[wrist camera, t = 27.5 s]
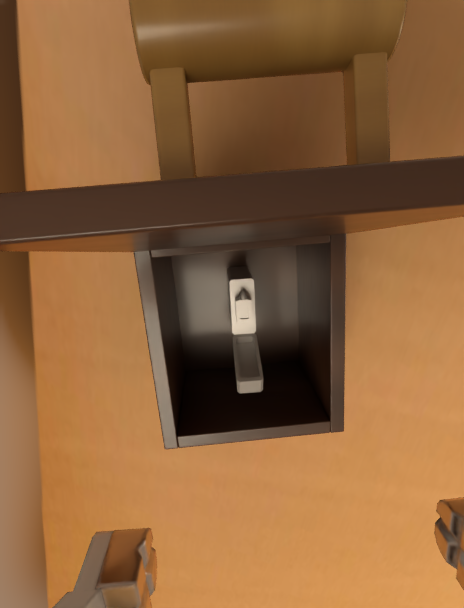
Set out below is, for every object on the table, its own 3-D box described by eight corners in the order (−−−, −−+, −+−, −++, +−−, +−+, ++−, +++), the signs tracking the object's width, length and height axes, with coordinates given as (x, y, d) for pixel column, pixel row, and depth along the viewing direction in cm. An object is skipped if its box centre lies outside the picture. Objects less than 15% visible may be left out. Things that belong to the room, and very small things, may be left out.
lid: (648, 190, 6) (670, -150, 6) (-73, 250, 6) (-141, -101, 5) (349, 233, 20) (345, 138, 20) (131, 252, 20) (119, 156, 19)
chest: (307, 364, 34) (344, 431, 25) (177, 376, 34) (164, 449, 24) (304, 213, 30) (346, 225, 21) (157, 226, 30) (132, 243, 20)
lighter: (226, 267, 30) (232, 294, 23) (248, 266, 30) (260, 292, 23) (231, 348, 32) (238, 398, 25) (251, 347, 32) (264, 396, 25)
